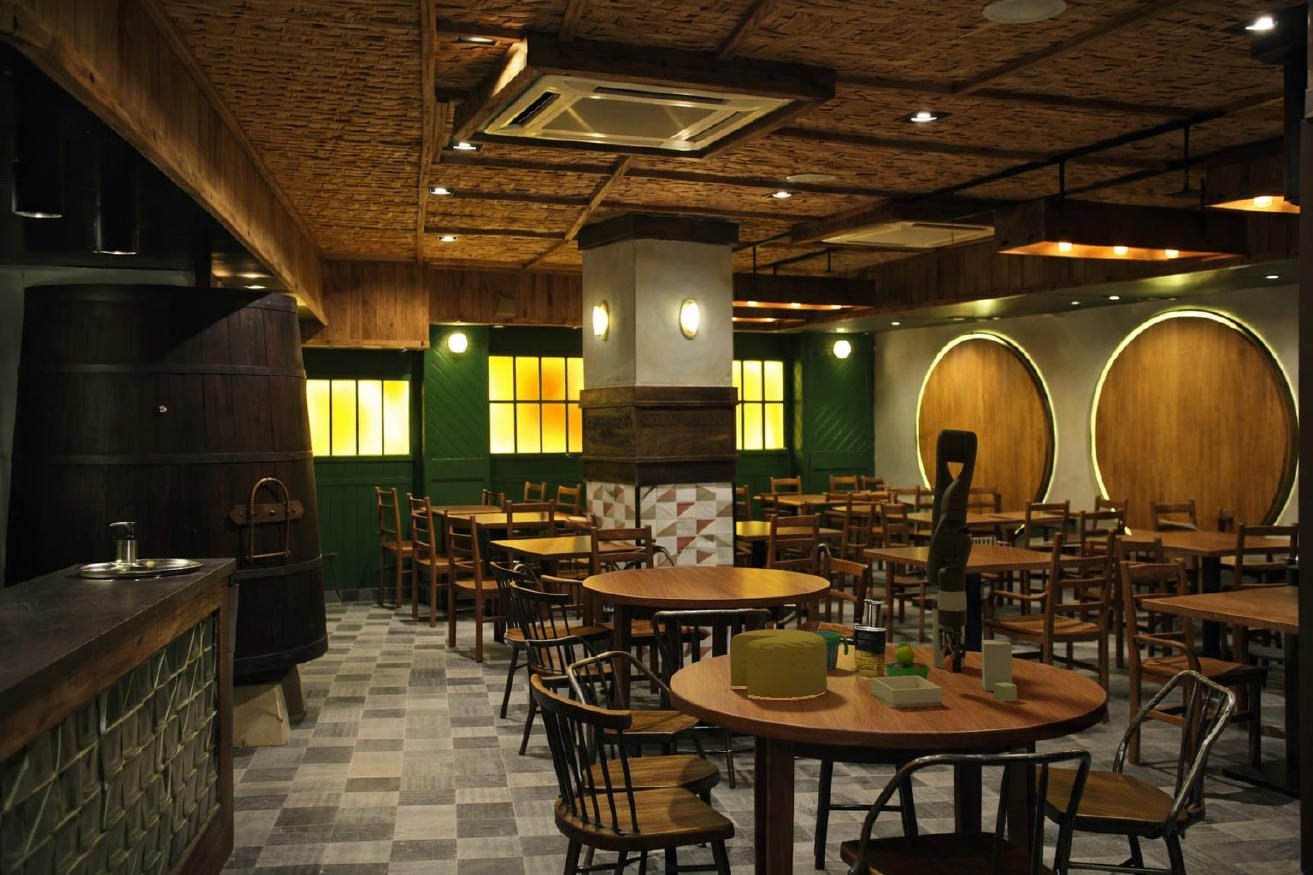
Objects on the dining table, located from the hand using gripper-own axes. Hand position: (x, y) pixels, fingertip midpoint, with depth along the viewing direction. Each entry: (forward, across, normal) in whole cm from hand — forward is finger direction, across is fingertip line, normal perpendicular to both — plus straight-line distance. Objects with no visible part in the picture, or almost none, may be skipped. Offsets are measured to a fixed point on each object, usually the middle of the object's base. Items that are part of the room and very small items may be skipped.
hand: (952, 670), depth 303 cm
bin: (+6, +7, -16) cm, 18 cm away
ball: (+1, 0, 0) cm, 1 cm away
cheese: (+6, -12, -45) cm, 47 cm away
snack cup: (+7, -39, -24) cm, 46 cm away
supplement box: (+6, -1, +13) cm, 15 cm away
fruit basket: (+6, -13, -8) cm, 17 cm away
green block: (+6, +12, +9) cm, 16 cm away
